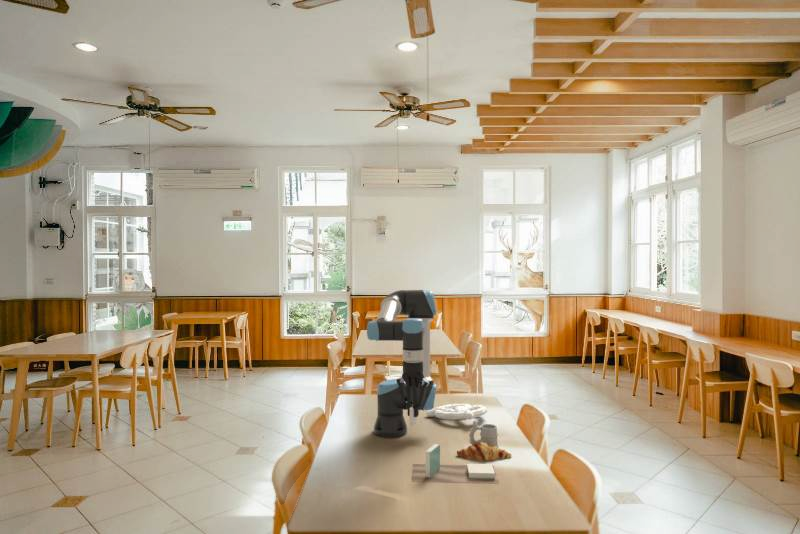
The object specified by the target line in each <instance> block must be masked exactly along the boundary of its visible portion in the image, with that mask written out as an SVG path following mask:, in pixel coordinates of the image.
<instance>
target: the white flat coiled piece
mask: <svg viewBox="0 0 800 534" xmlns="http://www.w3.org/2000/svg"><path fill="white" fill-rule="evenodd" d="M487 412H488V408H487V407H486V406H484V405H483V404H476V405H471V404H469V403H463V402H462V403H459V402H457V403H450V404H445V405H441V406H439V405H438V406H436V407H433V409H432V410H426V412H425V415H426V417H429V418H432V417H436V418H437V419H438V418H439V419H442V420H458V421H459V420H470V421H471V420H473V419H474V418H475V419H476V418H478V417H482V416H484V415H485V414H487Z"/></svg>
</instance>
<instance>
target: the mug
mask: <svg viewBox="0 0 800 534" xmlns="http://www.w3.org/2000/svg"><path fill="white" fill-rule="evenodd" d="M472 422H473V424H472V427H471V430H470V433H468V434H469V444H470V445H471V446H473V445H474V444H475V443H476V442H483V443H486V444H487V445H488V446H489V447H490V446H495V445H496V447H498V448H500V446H499V444H498V436H499V434H498V427H497V425H495V424H491V423H484V424H482V425H481V426H478V423H477V422H476V420H473V421H472ZM478 430H479V431H480V432H479V436H480V438H479V439H475V433H476V432H477V431H478Z"/></svg>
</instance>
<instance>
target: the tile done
mask: <svg viewBox="0 0 800 534" xmlns="http://www.w3.org/2000/svg"><path fill="white" fill-rule="evenodd" d="M466 465H467V471H468V476H469V479H495V472H496V471H495V472H494V469H495V468H494V469H493V466H494V465H493V464H492V463H467V464H466Z"/></svg>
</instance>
